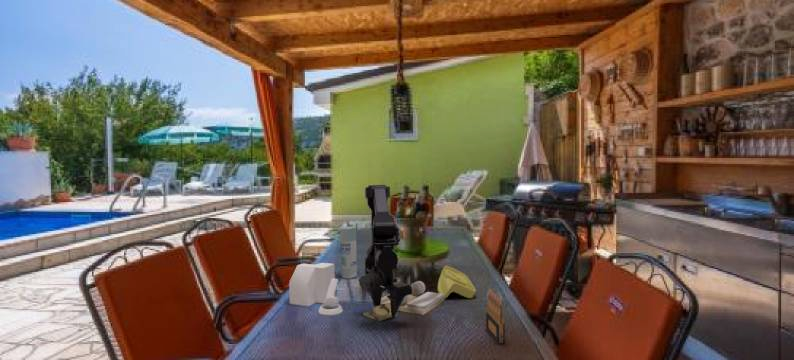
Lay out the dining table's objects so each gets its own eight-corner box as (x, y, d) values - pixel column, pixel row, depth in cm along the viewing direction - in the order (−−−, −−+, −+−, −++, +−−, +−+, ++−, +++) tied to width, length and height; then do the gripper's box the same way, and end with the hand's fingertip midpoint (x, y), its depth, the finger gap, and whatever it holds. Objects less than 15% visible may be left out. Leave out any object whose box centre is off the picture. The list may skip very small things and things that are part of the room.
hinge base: (373, 306, 161) (373, 288, 161) (397, 294, 175) (397, 277, 175) (423, 314, 153) (423, 296, 152) (444, 300, 167) (444, 283, 166)
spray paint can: (360, 276, 201) (359, 227, 200) (350, 279, 195) (349, 228, 195) (347, 274, 204) (346, 226, 204) (337, 277, 199) (336, 228, 198)
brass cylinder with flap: (382, 322, 146) (382, 308, 146) (363, 315, 153) (363, 301, 153) (397, 318, 150) (397, 303, 150) (378, 311, 157) (378, 297, 157)
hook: (349, 288, 165) (349, 280, 159) (340, 323, 159) (340, 317, 153) (327, 283, 165) (326, 276, 159) (317, 318, 159) (316, 312, 153)
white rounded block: (334, 298, 171) (334, 263, 171) (316, 307, 161) (315, 271, 161) (309, 294, 176) (308, 261, 175) (289, 303, 166) (288, 268, 165)
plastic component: (477, 292, 168) (451, 281, 167) (467, 311, 169) (441, 300, 168) (465, 274, 188) (442, 263, 187) (457, 291, 188) (433, 280, 187)
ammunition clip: (485, 329, 140) (485, 287, 139) (492, 329, 140) (492, 287, 139) (498, 344, 129) (498, 299, 128) (505, 343, 129) (505, 298, 129)
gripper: (344, 261, 151) (345, 311, 152) (383, 272, 137) (384, 327, 138) (373, 256, 158) (374, 304, 159) (413, 265, 144) (413, 318, 145)
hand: (385, 313), depth 150 cm, fingers open, 7 cm apart
